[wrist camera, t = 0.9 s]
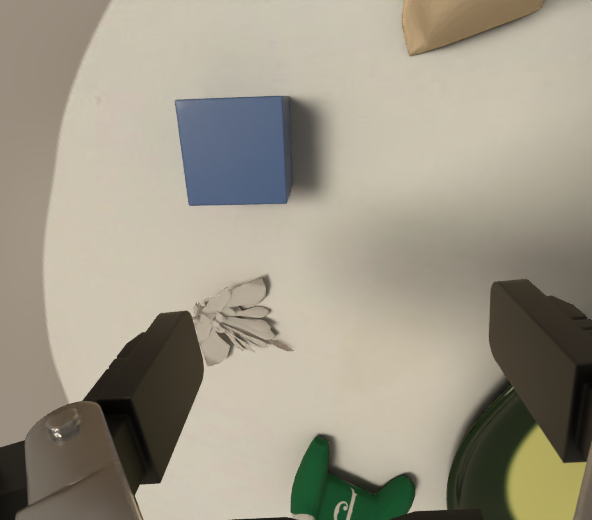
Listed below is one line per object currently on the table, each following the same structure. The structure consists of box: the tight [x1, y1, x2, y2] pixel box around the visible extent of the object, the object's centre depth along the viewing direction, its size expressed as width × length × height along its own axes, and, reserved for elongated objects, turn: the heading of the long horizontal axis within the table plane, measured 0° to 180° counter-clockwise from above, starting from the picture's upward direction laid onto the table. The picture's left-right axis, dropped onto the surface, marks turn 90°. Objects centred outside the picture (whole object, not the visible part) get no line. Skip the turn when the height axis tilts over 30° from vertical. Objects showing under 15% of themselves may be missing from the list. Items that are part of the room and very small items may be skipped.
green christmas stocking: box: [291, 436, 416, 520], centre depth 32 cm, size 9×4×6 cm
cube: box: [175, 96, 293, 206], centre depth 22 cm, size 5×5×4 cm
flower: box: [192, 278, 294, 366], centre depth 28 cm, size 8×8×3 cm
